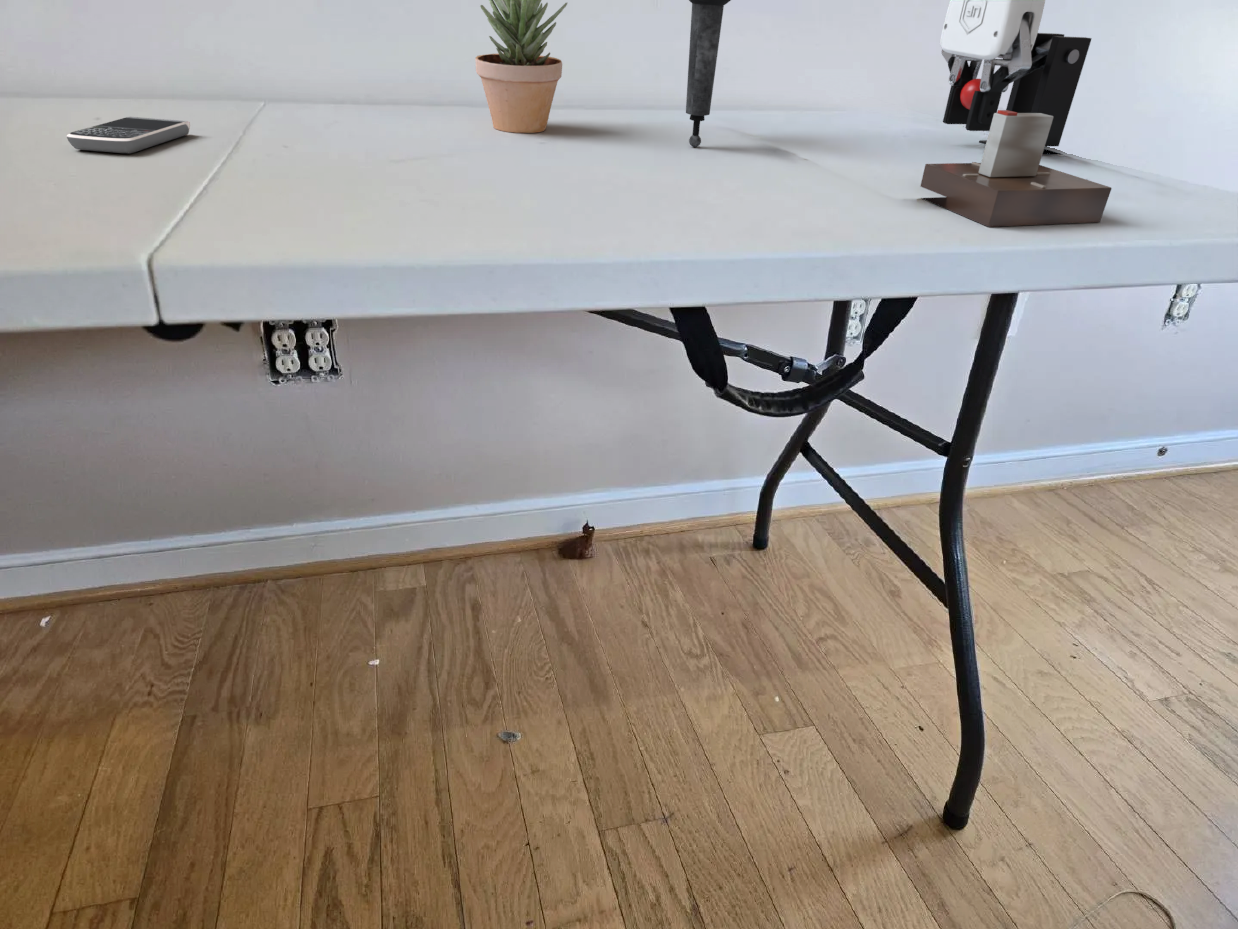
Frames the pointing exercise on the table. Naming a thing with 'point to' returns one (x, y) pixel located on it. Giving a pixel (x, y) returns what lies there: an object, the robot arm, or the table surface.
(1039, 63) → the switch lever
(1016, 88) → the bracket
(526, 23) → the potted plant
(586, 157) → the table surface
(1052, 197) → the brown flat block
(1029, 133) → the grey block
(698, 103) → the dark grey tapered rod
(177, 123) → the cell phone
